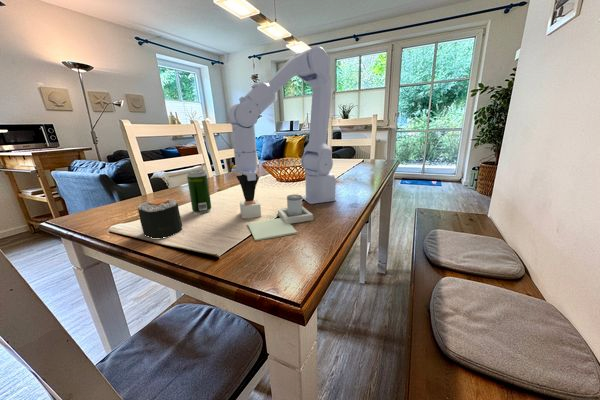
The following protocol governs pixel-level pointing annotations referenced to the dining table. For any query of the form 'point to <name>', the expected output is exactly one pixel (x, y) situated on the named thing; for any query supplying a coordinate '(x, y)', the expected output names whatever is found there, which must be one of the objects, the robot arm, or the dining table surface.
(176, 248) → the dining table surface
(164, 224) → the sushi
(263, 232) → the mat
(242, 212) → the button housing
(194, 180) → the beer can
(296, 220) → the dock
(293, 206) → the cylinder
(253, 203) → the release button
